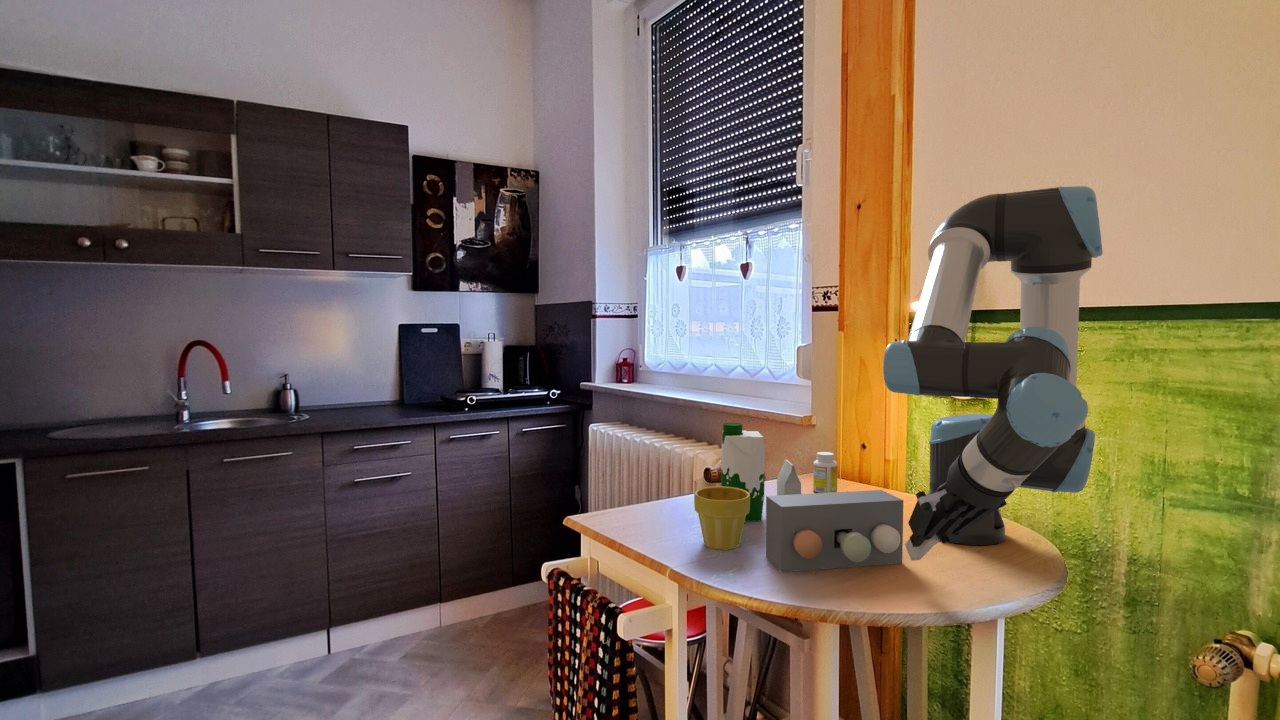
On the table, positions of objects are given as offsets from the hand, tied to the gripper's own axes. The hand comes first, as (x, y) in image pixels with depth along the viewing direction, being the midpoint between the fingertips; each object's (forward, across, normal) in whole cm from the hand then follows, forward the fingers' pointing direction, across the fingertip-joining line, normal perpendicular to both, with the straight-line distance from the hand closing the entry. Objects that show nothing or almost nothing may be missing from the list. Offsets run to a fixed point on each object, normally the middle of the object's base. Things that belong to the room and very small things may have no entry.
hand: (912, 551), depth 101 cm
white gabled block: (+37, -1, +29) cm, 47 cm away
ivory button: (+9, 0, +5) cm, 10 cm away
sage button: (+7, -7, +3) cm, 10 cm away
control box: (+13, -7, +5) cm, 15 cm away
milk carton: (+33, -14, +25) cm, 43 cm away
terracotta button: (+9, -14, +5) cm, 17 cm away
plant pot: (+21, -24, +13) cm, 34 cm away
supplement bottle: (+42, +11, +34) cm, 55 cm away
